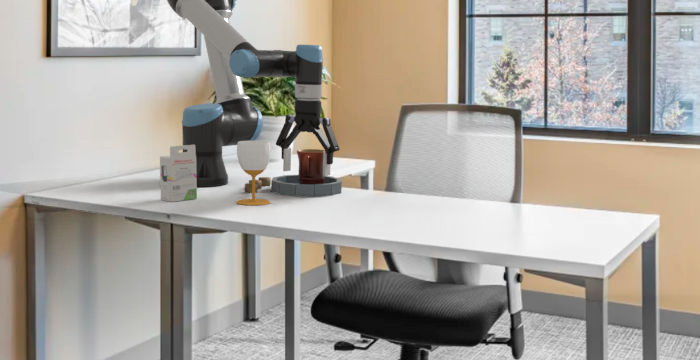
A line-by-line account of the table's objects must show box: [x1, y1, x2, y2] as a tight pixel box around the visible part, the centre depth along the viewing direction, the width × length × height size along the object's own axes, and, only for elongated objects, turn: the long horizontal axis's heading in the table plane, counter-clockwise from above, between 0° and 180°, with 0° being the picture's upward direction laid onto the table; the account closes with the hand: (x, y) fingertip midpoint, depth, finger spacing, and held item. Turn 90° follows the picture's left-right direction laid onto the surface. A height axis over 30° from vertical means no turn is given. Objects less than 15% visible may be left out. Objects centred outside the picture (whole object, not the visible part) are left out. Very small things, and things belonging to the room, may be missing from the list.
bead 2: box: [248, 179, 262, 190], centre depth 257 cm, size 4×4×2 cm
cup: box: [235, 140, 272, 207], centre depth 233 cm, size 9×9×16 cm
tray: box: [270, 174, 343, 198], centre depth 255 cm, size 20×20×3 cm
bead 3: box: [257, 176, 272, 187], centre depth 263 cm, size 4×4×2 cm
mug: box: [296, 148, 326, 184], centre depth 254 cm, size 12×9×10 cm
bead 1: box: [244, 182, 259, 194], centre depth 250 cm, size 4×4×2 cm
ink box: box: [159, 144, 198, 203], centre depth 235 cm, size 9×5×15 cm, turn 134°
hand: (306, 173), depth 255 cm, fingers open, 13 cm apart
